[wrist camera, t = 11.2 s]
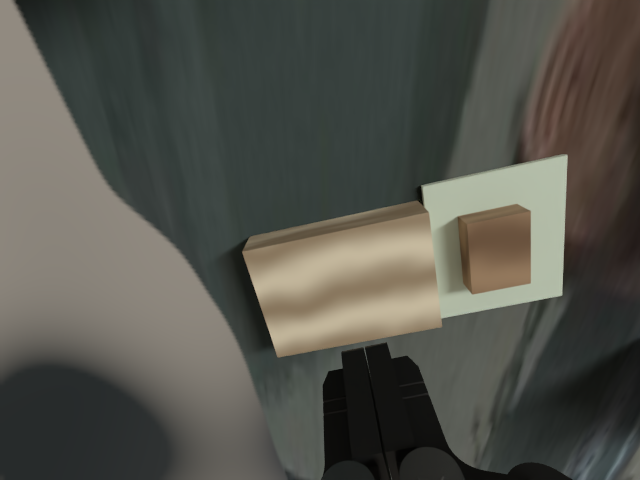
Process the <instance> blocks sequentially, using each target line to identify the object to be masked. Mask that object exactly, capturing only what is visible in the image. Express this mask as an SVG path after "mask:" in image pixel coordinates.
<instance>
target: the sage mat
mask: <svg viewBox="0 0 640 480" xmlns="http://www.w3.org/2000/svg"><path fill="white" fill-rule="evenodd" d="M566 179H567V155H565V154H562V155H557V156H553V157H548V158H544V159H539V160H535V161H530V162H525V163H521V164H516V165H512V166H507V167H503V168H498V169H493V170H489V171H484V172H480V173H475V174H471V175H466V176H462V177H457V178H452V179H448V180H443V181H439V182H434V183H430V184H425V185H421V191H422V200H423V207H424V208H425V209H426V210H427V211H428V212H429V216H430V225H431V234H432V243H433V251H434V260H435V269H436V278H437V286H438V295H439V304H440V313H441V318H445V317H450V316H456V315H461V314H466V313H472V312H477V311H482V310H488V309H493V308H498V307H504V306H509V305H514V304H520V303H525V302H530V301H536V300H541V299H546V298H551V297H557V296H562V283H563V257H564V231H565V205H566ZM513 204H518V205H520V206H522V207H524V208H526V209H528V210H530V211H531V283H530V284H525V285H520V286H515V287H510V288H504V289H499V290H494V291H489V292H484V293H478V294H473V295H472V294H471V292H470V291H469V290H468V289H467V287H466V286H465V285H464V284H463V276H462V264H461V252H460V240H459V228H458V216H461V215H466V214H471V213H475V212H480V211H485V210H490V209H494V208H499V207H504V206H509V205H513Z"/></svg>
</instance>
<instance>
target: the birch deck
mask: <svg viewBox="0 0 640 480" xmlns="http://www.w3.org/2000/svg"><path fill="white" fill-rule="evenodd" d="M242 253H243V256H244V259H245V262H246V265H247V268H248V271H249V274H250V277H251V280H252V283H253V286H254V289H255V291H256V294H257V297H258V300H259V303H260V306H261V309H262V312H263V315H264V318H265V321H266V324H267V327H268V330H269V333H270V336H271V339H272V342H273V345H274V348H275V350H276V353H277V356H278V357H283V356H288V355H294V354H299V353H304V352H310V351H315V350H320V349H326V348H331V347H336V346H342V345H347V344H353V343H358V342H363V341H369V340H374V339H379V338H385V337H390V336H396V335H401V334H406V333H412V332H417V331H422V330H428V329H433V328H439V327H442V321H441V313H440V304H439V295H438V286H437V278H436V269H435V260H434V251H433V243H432V234H431V225H430V216H429V212H428V211H427V210H426V209H425V208H424V207H423V205H422V204H421V203H420V202H419V201H413V202H408V203H404V204H399V205H394V206H390V207H385V208H381V209H376V210H371V211H367V212H362V213H357V214H353V215H348V216H343V217H339V218H334V219H330V220H325V221H320V222H316V223H311V224H306V225H302V226H297V227H292V228H288V229H283V230H279V231H274V232H269V233H265V234H260V235H255V236H251V237H249V239H248V241H247V243H246V245H245V247H244V249H243V251H242Z"/></svg>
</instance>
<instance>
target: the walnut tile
mask: <svg viewBox="0 0 640 480" xmlns="http://www.w3.org/2000/svg"><path fill="white" fill-rule="evenodd" d="M458 228H459V240H460V252H461V264H462V276H463V284H464V285H465V286H466V287H467V289H468V290H469V291H470V292H471V294H472V295H473V294H478V293H484V292H489V291H494V290H499V289H504V288H510V287H515V286H520V285H525V284H530V283H531V211H530V210H528V209H526V208H524V207H522V206H520V205H518V204H513V205H509V206H504V207H499V208H494V209H490V210H485V211H480V212H475V213H471V214H466V215H461V216H458Z"/></svg>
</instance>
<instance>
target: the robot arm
mask: <svg viewBox="0 0 640 480" xmlns="http://www.w3.org/2000/svg"><path fill="white" fill-rule="evenodd" d="M365 350H366V355H367V360H368V364H367V360H366V356H365V352H364V348H363V347H362V348H357V349H352V350H347V351H342V352H341V354H342V364H343V369H338V370H333V371H329V372H328V374H327V377H326V379H325V381H324V383H323V402H324V403H323V413H324V452H325V468H324V474H323V477H322V478H321V480H391V477H392V480H572V479H571V478H569V477H567V476H566V475H564V474H562V473H561V472H559V471H557V470H555V469H553V468H551V467H549V466H546V465H543V464H539V463H532V462H531V463H523V464H519V465H517V466H515V467H514V468H512V469H511V470H510V472H509V473H508V475H507V474H501V473H495V472H489V471H484V470H479V469H476V468H473V467H471V466H469V465H467V464H465V463H464V462H462V461H461V460H460V459H459V458H458V457H456V456H455V455H454V453H453V452H452V451H451V449H450V448H449V446H448V444H447V442H446V440H445V437H444V434H443V432H442V429H441V426H440V423H439V421H438V418H437V415H436V413H435V410H434V407H433V405H432V402H431V399H430V397H429V395H428V391H427V389H426V386H425V384H424V381H423V378H422V375H421V372H420V370H419V367H418V366H417V365H416V364H415V363H414V362H413V361H412V360H411V359H410V358H409V357H408V356H403V357H398V358H393V359H391V355H390V352H389V348H388V345H387V342H386V343H381V344H376V345H371V346H366V347H365ZM368 365H369V368H368ZM369 371H370V373H369ZM370 376H371V377H370ZM389 469H390V470H389ZM390 473H391V475H390Z"/></svg>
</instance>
